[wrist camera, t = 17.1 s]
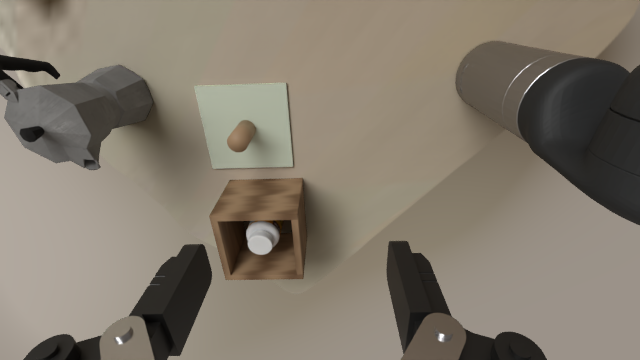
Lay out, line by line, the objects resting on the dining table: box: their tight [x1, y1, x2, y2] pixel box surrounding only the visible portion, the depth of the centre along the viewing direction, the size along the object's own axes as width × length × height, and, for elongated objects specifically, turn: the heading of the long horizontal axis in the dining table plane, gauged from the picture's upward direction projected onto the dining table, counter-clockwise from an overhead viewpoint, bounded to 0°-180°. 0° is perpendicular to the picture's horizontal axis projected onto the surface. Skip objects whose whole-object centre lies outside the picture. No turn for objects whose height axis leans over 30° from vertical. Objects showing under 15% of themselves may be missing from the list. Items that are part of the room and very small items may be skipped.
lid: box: [194, 83, 293, 169], centre depth 48 cm, size 14×14×7 cm
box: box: [209, 178, 307, 280], centre depth 54 cm, size 13×13×11 cm
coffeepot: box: [0, 55, 153, 170], centre depth 40 cm, size 15×9×18 cm, turn 33°
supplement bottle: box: [246, 220, 283, 255], centre depth 54 cm, size 6×6×10 cm
